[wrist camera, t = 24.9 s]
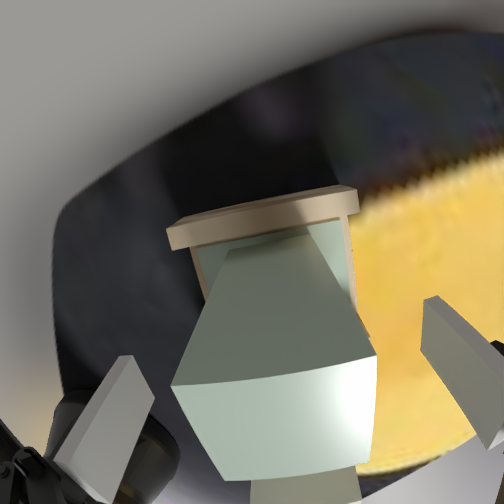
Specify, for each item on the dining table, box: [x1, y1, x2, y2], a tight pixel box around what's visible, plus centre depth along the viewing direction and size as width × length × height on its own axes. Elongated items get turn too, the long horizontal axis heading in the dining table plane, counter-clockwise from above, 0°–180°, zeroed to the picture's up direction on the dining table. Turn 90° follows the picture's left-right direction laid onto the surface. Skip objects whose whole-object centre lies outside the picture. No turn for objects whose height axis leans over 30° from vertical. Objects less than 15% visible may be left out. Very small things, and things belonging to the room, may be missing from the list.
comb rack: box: [166, 185, 370, 341], centre depth 19 cm, size 10×19×4 cm, turn 12°
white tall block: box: [250, 465, 362, 504], centre depth 15 cm, size 5×5×12 cm
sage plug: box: [171, 234, 377, 481], centre depth 13 cm, size 5×5×12 cm
